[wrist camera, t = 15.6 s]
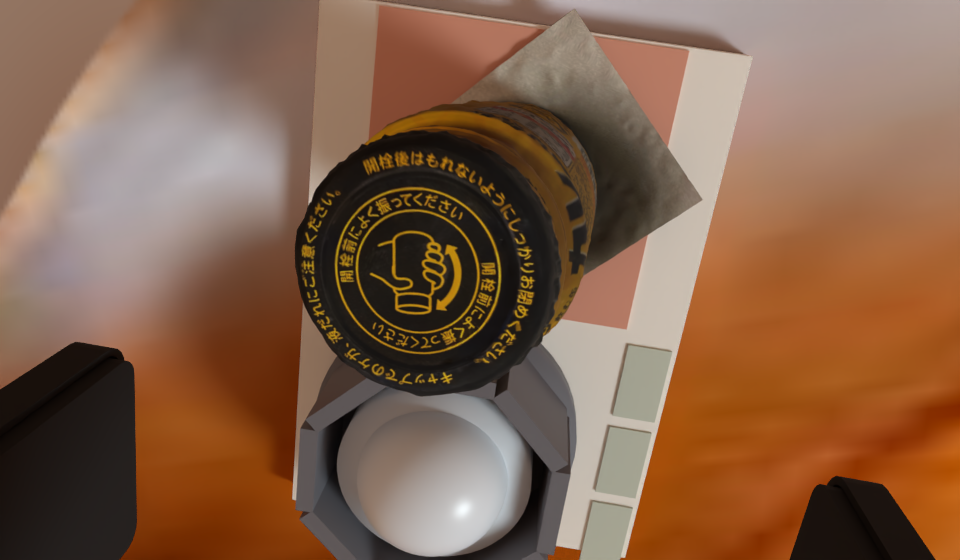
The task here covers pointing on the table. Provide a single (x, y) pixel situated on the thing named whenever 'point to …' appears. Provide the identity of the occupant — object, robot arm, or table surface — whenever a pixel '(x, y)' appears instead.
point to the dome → (434, 471)
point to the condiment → (484, 218)
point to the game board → (590, 317)
